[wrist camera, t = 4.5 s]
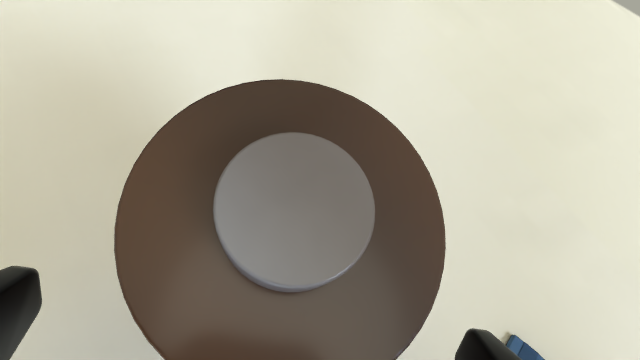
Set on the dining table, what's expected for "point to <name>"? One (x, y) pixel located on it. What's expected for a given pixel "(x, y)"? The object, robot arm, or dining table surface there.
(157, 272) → the pepper mill
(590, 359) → the dining table surface
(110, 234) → the dining table surface
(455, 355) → the robot arm
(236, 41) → the dining table surface
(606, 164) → the dining table surface
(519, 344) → the napkin
